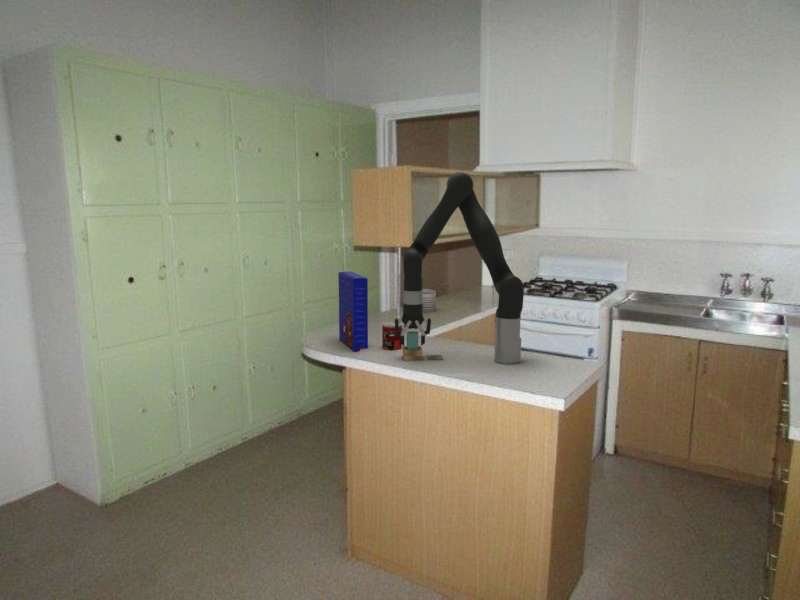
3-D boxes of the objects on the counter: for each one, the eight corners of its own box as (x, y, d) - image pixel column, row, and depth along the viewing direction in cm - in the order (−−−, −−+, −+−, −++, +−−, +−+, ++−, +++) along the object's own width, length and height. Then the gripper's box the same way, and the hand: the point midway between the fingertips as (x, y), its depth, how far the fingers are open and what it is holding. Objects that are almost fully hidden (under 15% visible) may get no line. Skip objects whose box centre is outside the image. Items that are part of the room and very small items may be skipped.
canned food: (378, 349, 242) (378, 323, 241) (393, 346, 248) (393, 321, 246) (390, 353, 237) (390, 326, 235) (405, 350, 242) (405, 324, 240)
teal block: (417, 356, 229) (417, 331, 227) (418, 359, 225) (418, 333, 223) (406, 356, 228) (407, 331, 227) (407, 359, 225) (407, 333, 223)
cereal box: (367, 350, 241) (367, 277, 236) (353, 352, 239) (353, 278, 234) (352, 338, 261) (351, 271, 256) (339, 339, 259) (338, 271, 254)
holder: (442, 357, 231) (442, 345, 230) (444, 362, 224) (445, 349, 223) (401, 358, 230) (401, 345, 229) (402, 363, 223) (402, 350, 222)
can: (420, 308, 331) (420, 287, 328) (439, 310, 326) (439, 289, 323) (411, 312, 321) (411, 290, 318) (430, 314, 316) (430, 292, 313)
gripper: (430, 300, 227) (430, 342, 230) (393, 300, 226) (393, 342, 229) (433, 303, 220) (432, 347, 222) (394, 303, 219) (394, 347, 222)
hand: (412, 344), depth 226 cm, fingers open, 6 cm apart
